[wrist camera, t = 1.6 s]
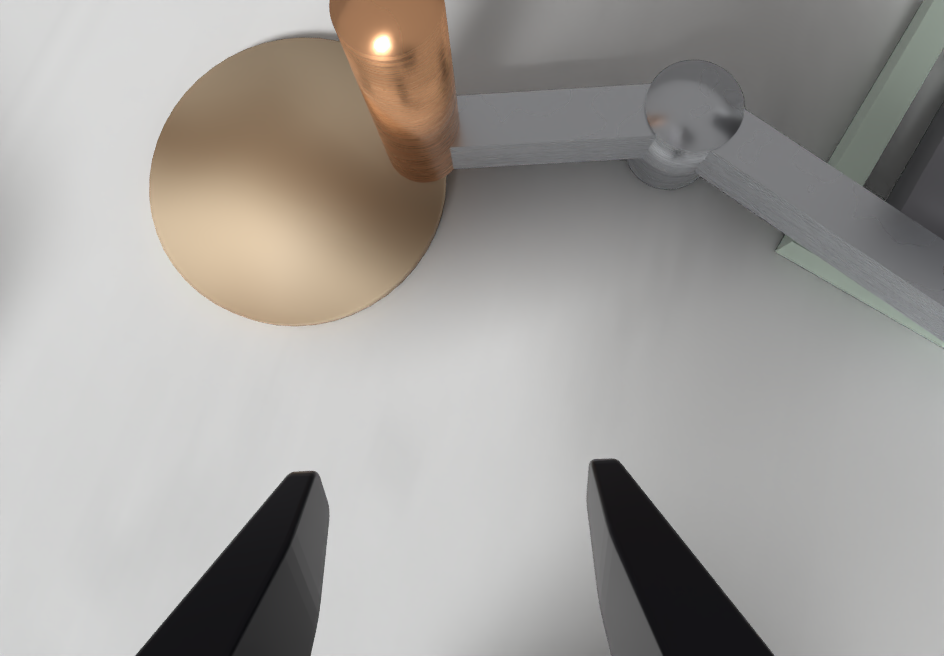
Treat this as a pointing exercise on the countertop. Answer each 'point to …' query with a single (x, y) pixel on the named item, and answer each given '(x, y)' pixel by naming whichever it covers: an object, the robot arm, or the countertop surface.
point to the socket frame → (880, 139)
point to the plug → (924, 180)
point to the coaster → (286, 189)
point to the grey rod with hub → (633, 146)
